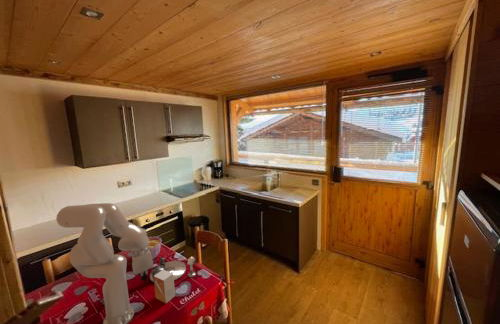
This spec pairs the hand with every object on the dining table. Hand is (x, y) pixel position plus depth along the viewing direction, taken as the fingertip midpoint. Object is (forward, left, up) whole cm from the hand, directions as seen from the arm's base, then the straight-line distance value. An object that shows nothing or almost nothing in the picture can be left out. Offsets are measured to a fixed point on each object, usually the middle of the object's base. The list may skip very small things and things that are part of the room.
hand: (144, 280), depth 124 cm
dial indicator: (-13, -23, -3) cm, 27 cm away
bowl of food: (+27, -11, -3) cm, 29 cm away
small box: (-19, -4, -3) cm, 20 cm away
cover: (0, -8, -1) cm, 8 cm away
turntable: (0, -14, -3) cm, 14 cm away
